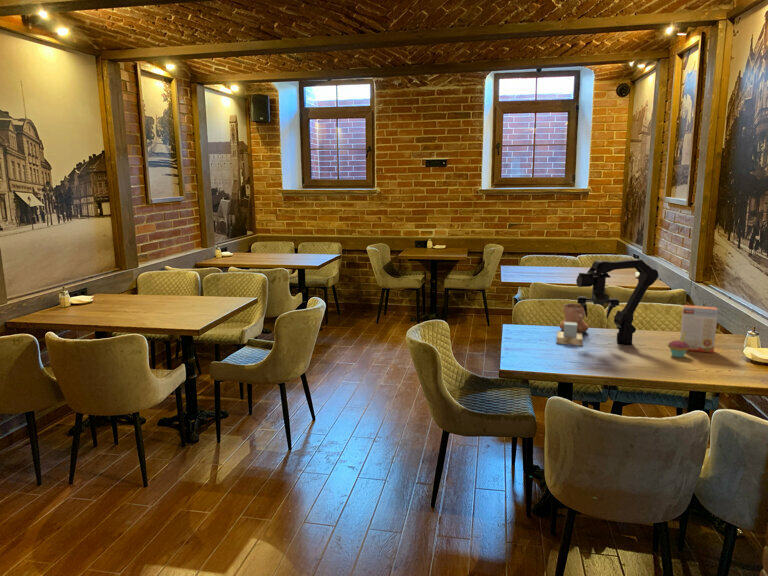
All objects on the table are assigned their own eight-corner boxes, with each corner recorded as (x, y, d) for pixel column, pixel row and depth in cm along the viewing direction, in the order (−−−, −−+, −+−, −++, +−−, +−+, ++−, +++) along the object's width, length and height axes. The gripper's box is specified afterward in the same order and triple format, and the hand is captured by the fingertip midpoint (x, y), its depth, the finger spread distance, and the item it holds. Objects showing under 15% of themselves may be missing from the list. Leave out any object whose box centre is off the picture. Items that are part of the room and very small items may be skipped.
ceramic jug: (593, 335, 287) (595, 308, 285) (566, 336, 286) (568, 308, 284) (579, 327, 305) (581, 302, 302) (553, 327, 304) (555, 302, 302)
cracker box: (712, 350, 263) (717, 306, 259) (713, 353, 258) (718, 309, 254) (678, 346, 269) (683, 304, 265) (679, 349, 264) (683, 306, 260)
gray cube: (576, 334, 279) (576, 322, 278) (576, 337, 273) (577, 325, 272) (563, 333, 281) (564, 321, 280) (563, 336, 275) (564, 324, 274)
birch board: (581, 338, 281) (582, 333, 281) (582, 345, 270) (582, 339, 270) (556, 336, 285) (557, 331, 284) (556, 343, 274) (556, 337, 273)
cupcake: (686, 354, 257) (689, 328, 255) (689, 359, 249) (692, 333, 247) (665, 352, 260) (668, 327, 257) (668, 357, 252) (671, 331, 249)
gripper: (578, 288, 263) (576, 320, 266) (621, 290, 257) (618, 323, 260) (578, 284, 274) (576, 315, 276) (619, 286, 268) (616, 318, 271)
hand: (596, 318), depth 271 cm, fingers open, 9 cm apart
